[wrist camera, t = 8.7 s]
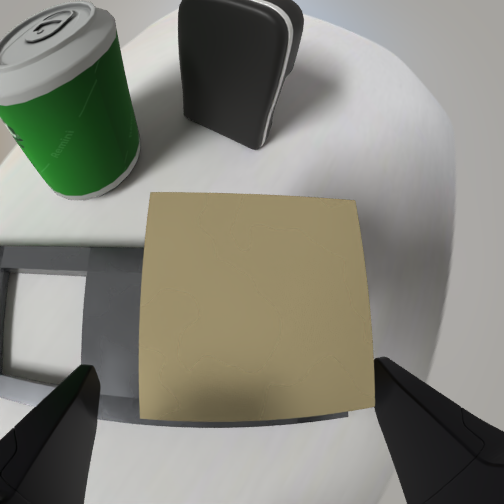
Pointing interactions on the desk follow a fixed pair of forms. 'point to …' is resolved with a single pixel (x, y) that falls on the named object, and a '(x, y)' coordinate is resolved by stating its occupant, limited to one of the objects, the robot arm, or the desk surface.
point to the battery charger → (236, 63)
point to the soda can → (69, 99)
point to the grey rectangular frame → (101, 329)
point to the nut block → (253, 309)
